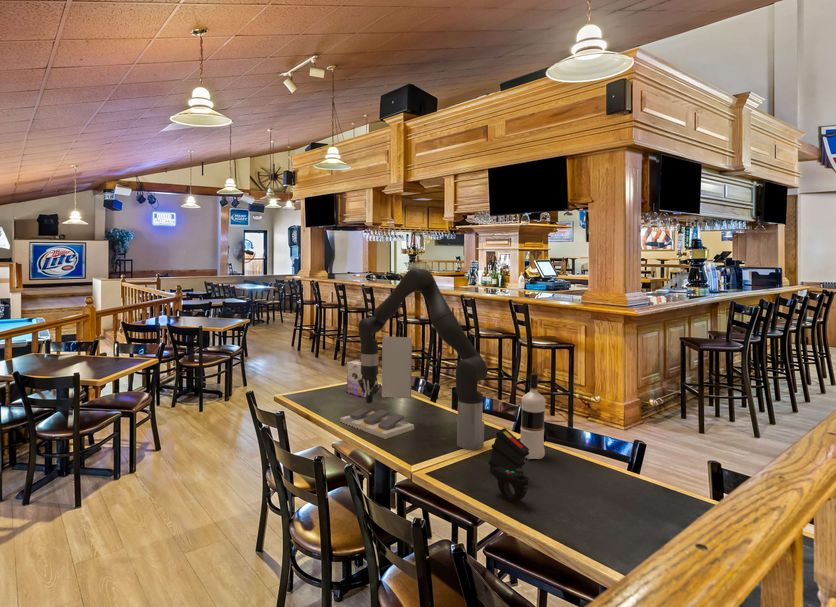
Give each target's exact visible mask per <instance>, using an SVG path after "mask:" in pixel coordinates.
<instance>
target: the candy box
mask: <svg viewBox="0 0 836 607" xmlns="http://www.w3.org/2000/svg"><path fill="white" fill-rule="evenodd" d="M360 379H362V375H361V361H358V360H352V361H351V360H350V361H347V362H346V389H347V390H346V392H348V393H347V394H350V393H351V394H350V395H353V394H354V395H353V396H357V397H360V396H361V397H360V398H366V394H365V392H363V391H362V389H361V387H360V385H359V382H358V380H360Z"/></svg>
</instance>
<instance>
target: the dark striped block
mask: <svg viewBox="0 0 836 607" xmlns="http://www.w3.org/2000/svg"><path fill="white" fill-rule="evenodd" d="M495 435H496V437H495V439H494V442H493V443H492V444H491V447H490V448H491V452H490V460H488V465H489V472H490V471H491V472H492V470H493V468H495V467H497V466H501V467H504V468H506V469H508V470H511V471H514V472H516V473H517V471H516V469H517V468H520V469H523V465H524V466H525V464H526V462H525V459H526V458H525V457H526V456H527V455H529V452H528V451H529V449H528V448H527V447H526V446H525V445H524V444H523V443H522V442H520V439H518V438H517V437H515V435H514V434H513V433H511V432H510V431H509V429H507V428H505V427H504V428H500V429H499V431H496V432H495ZM521 473H522V474H523V475H524V471H523V472H521Z"/></svg>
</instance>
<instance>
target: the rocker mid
mask: <svg viewBox="0 0 836 607" xmlns="http://www.w3.org/2000/svg"><path fill="white" fill-rule="evenodd" d="M374 412H375V413H373V414H371V415H369V416H368V417H366V418H364V419H363V421H364V422H366V423H369V424H373V423H375V422H377V421H378V420H380V419H382V418H384V417H385V416H389V415H390V412H389V411H387V410H385V409H381V408H380V409H378V410H376V411H374Z"/></svg>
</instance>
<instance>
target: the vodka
mask: <svg viewBox="0 0 836 607" xmlns="http://www.w3.org/2000/svg"><path fill="white" fill-rule="evenodd" d="M529 381H530V382H529V383H530V385H529V386H530V387H529V392H527V393H525V394H524V395H523V396H522V397H521V406H520V408H521V419H520V420H521V423H520V439H519V441H520V442H522V443H523V444H524V445H525V446H526V447H527V448H528V449H529V451H528V452H529V455H527V456H526V457H525V459H526V458H527V460H530V459H538V460H541V459H543V458H544V457H545V455H546V449H545V443H544V442H545V441H544V440H545V439H544V436H545V411H546V399H545V397H544V395H542V394H541V393H540V392H538V385H539V384H538V383H539V374H538V373H533V372H532V373H530V380H529Z"/></svg>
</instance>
